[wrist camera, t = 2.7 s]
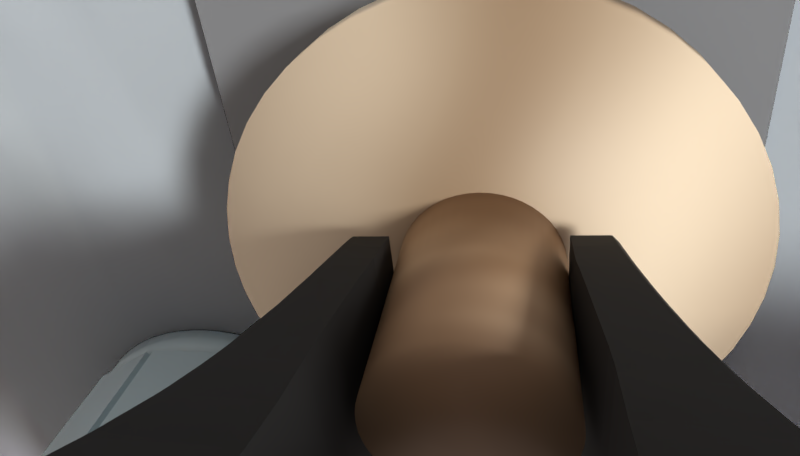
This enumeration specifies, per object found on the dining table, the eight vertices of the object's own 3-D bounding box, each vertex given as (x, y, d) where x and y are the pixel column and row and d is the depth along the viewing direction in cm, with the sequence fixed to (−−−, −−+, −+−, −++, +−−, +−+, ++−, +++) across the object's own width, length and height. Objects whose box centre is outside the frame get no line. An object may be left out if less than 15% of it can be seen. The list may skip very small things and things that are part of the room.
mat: (808, -117, 9) (819, -115, 9) (710, 374, 14) (714, 387, 14) (191, -51, 11) (181, -48, 11) (299, 361, 16) (294, 372, 16)
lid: (822, -56, 8) (1066, 30, 4) (717, 426, 13) (794, 660, 9) (184, -1, 10) (-12, 94, 6) (296, 404, 14) (220, 593, 11)
